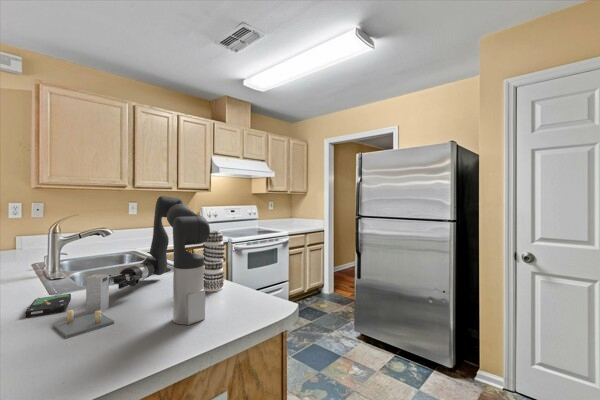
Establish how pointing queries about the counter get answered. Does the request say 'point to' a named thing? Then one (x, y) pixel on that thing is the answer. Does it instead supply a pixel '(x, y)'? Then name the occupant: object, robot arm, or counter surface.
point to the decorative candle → (213, 261)
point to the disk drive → (48, 305)
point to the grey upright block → (97, 293)
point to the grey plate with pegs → (82, 323)
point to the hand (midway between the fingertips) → (108, 285)
